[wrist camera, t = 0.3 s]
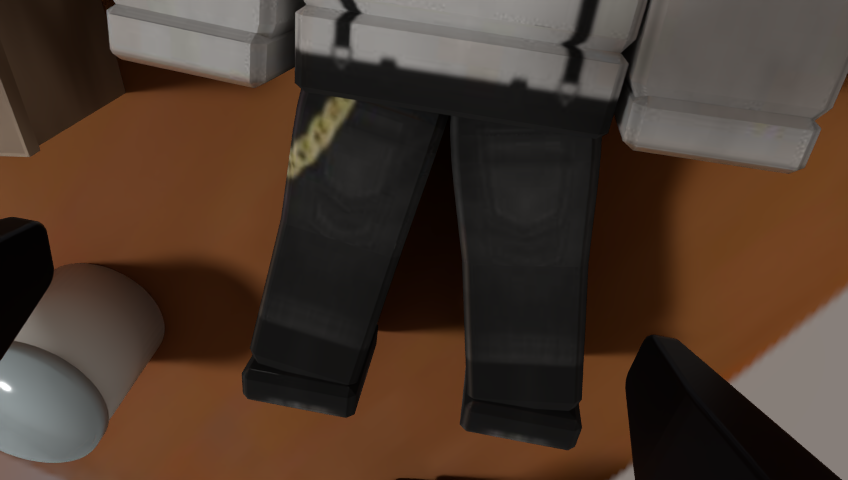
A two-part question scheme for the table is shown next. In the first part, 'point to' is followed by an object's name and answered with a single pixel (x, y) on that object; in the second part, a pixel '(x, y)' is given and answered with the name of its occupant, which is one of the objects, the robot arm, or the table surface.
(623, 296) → the table surface
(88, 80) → the beige box
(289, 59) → the toy
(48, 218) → the table surface
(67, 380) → the beaker
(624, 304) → the table surface
